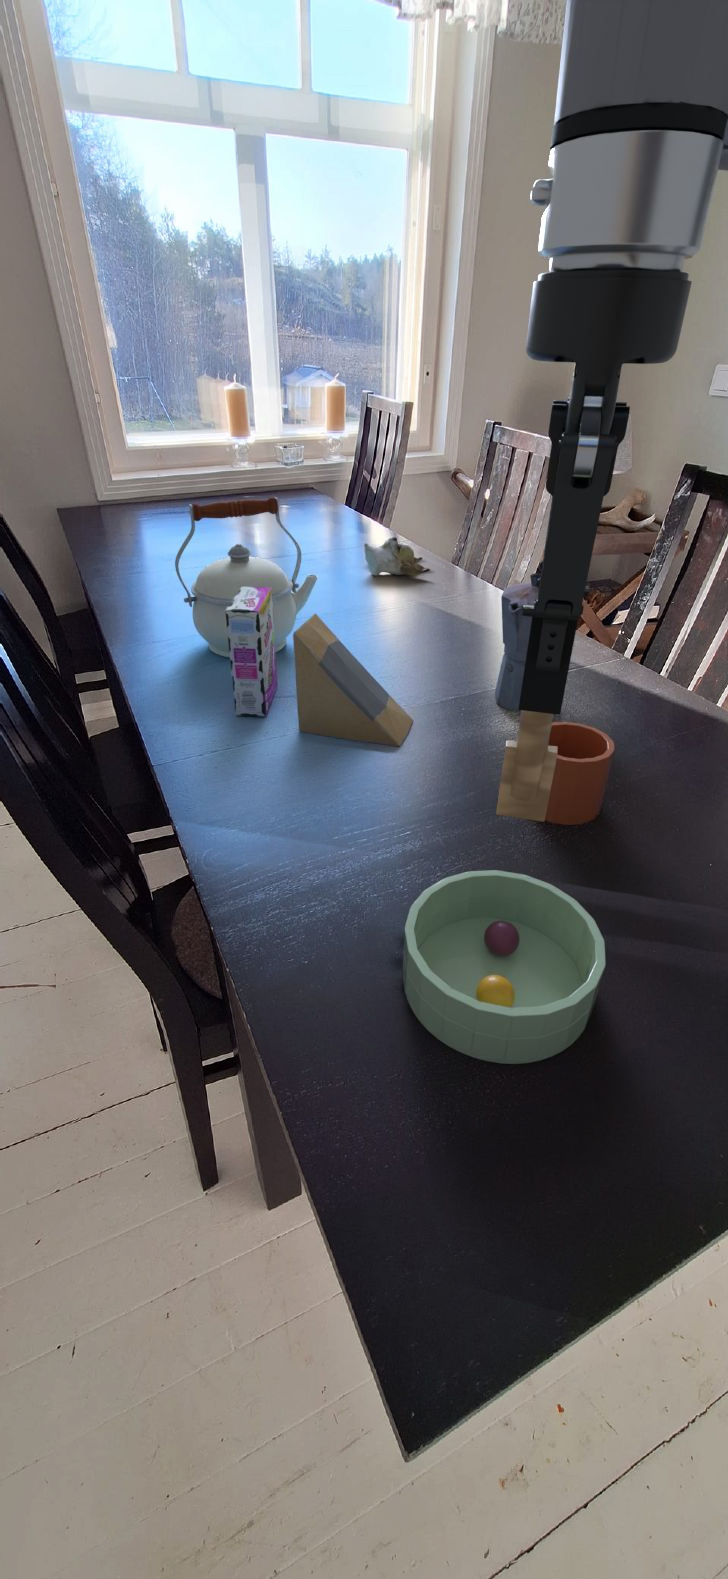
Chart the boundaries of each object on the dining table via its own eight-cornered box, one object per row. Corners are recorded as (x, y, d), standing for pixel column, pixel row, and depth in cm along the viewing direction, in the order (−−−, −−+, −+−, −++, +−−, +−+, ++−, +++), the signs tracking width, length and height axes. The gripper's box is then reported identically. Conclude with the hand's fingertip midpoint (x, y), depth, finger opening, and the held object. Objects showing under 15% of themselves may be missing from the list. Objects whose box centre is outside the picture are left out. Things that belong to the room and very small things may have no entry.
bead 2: (513, 996, 60) (518, 970, 58) (510, 1026, 57) (515, 1000, 56) (476, 988, 61) (480, 963, 59) (472, 1018, 58) (475, 992, 56)
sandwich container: (400, 747, 96) (404, 645, 88) (297, 732, 100) (292, 632, 91) (414, 719, 103) (419, 622, 95) (317, 706, 107) (314, 611, 98)
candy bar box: (268, 718, 103) (259, 611, 94) (234, 717, 103) (222, 610, 94) (279, 685, 113) (272, 585, 103) (249, 684, 113) (239, 584, 104)
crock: (596, 797, 86) (612, 726, 81) (598, 840, 79) (616, 766, 73) (522, 787, 88) (533, 717, 82) (518, 829, 81) (530, 755, 75)
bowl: (589, 933, 67) (602, 886, 64) (594, 1084, 54) (609, 1036, 50) (420, 903, 70) (423, 858, 67) (385, 1039, 57) (386, 991, 54)
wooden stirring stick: (545, 810, 53) (599, 523, 41) (543, 826, 51) (600, 532, 39) (497, 803, 54) (538, 519, 42) (494, 819, 52) (536, 528, 40)
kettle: (200, 673, 116) (178, 518, 102) (178, 636, 130) (156, 494, 116) (337, 650, 125) (335, 503, 111) (303, 617, 139) (296, 483, 125)
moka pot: (472, 709, 106) (485, 578, 95) (515, 674, 116) (531, 553, 105) (531, 726, 101) (552, 591, 90) (569, 689, 112) (592, 563, 101)
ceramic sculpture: (361, 530, 162) (424, 532, 164) (359, 567, 166) (420, 569, 168) (367, 542, 153) (434, 544, 155) (365, 581, 158) (429, 583, 160)
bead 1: (518, 941, 65) (522, 916, 63) (516, 966, 63) (520, 941, 61) (484, 935, 66) (487, 910, 64) (480, 960, 63) (484, 935, 62)
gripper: (541, 276, 41) (495, 652, 54) (526, 254, 29) (471, 747, 42) (676, 276, 39) (594, 662, 52) (721, 252, 27) (600, 765, 40)
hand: (540, 699), depth 47 cm, fingers closed on wooden stirring stick, 2 cm apart
